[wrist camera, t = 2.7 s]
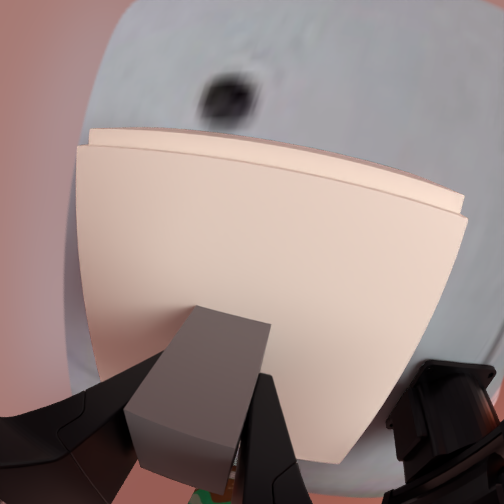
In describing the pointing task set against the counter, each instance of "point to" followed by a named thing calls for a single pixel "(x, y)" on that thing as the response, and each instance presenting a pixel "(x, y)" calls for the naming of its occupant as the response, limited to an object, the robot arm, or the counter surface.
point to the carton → (282, 159)
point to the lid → (251, 298)
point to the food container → (204, 500)
